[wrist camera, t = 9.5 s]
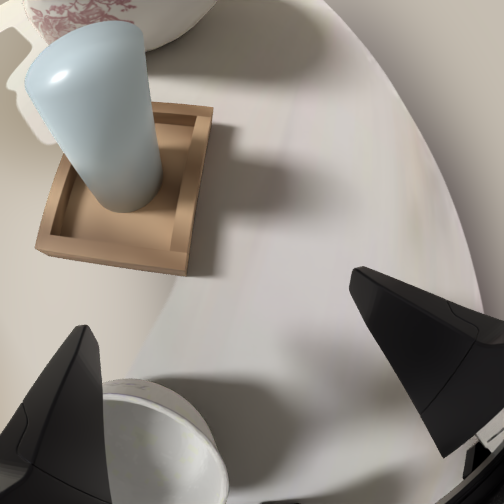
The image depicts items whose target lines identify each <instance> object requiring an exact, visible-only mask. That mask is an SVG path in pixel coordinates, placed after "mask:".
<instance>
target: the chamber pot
mask: <svg viewBox="0 0 504 504" xmlns="http://www.w3.org/2000/svg"><path fill="white" fill-rule="evenodd" d="M216 2H217V0H23V6H24V9H25V12H26V15H27V18H28V20H29V21H30V22H31V24H32V25H33V27H34V28H35V29H36V31H37V32H38V34H39V35H40V36H41V37H42V38H43V39H44V40H45V41H46V42H47V43H48V44H49V45H50V44H52V43H53V42H54V41H56V40H57V39H59V38H60V37H62V36H64V35H65V34H67V33H69V32H71V31H73V30H76V29H78V28H80V27H83V26H86V25H89V24H93V23H97V22H103V21H125V22H129V23H132V24H134V25H136V26H137V27H139V28H140V30H141V31H142V33H143V37H144V47H145V52H147V51H150V50H154V49H157V48H159V47H161V46H163V45H165V44H167V43H170V42H172V41H174V40H176V39H177V38H179V37H180V36H182V35H183V34H184V33H186V32H187V31H188V30H190V29H191V28H193V27H194V26H195V25H196V24H197V23H198V22H199V21H200V20H201V19H202V18H203V16H204V15H205V14H206V13H207V12H208V11H209V10H210V9H211V8H212V7H213V6H214V5H215V3H216Z"/></svg>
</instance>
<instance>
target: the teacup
mask: <svg viewBox="0 0 504 504" xmlns="http://www.w3.org/2000/svg"><path fill="white" fill-rule="evenodd" d="M102 387H103V418H104V437H105V450H106V461H107V470H108V478H109V485H110V492H111V498H112V504H226V501H227V497H228V493H229V477H228V472H227V468H226V465H225V463H224V461H223V459H222V457H221V455H220V453H219V451H218V449H217V446H216V443H215V441H214V438H213V436H212V433H211V431H210V429H209V427H208V425H207V424H206V422H205V420H204V419H203V417H202V416H201V415H200V413H199V412H198V411H197V410H196V409H195V408H194V407H193V406H192V405H191V404H190V403H189V402H188V401H187V400H186V399H184V398H183V397H182V396H180V395H179V394H177V393H176V392H174V391H172V390H171V389H169V388H166V387H164V386H162V385H159V384H156V383H153V382H150V381H145V380H139V379H118V380H113V381H108V382H105V383H102Z"/></svg>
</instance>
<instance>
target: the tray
mask: <svg viewBox="0 0 504 504" xmlns="http://www.w3.org/2000/svg"><path fill="white" fill-rule="evenodd" d="M151 104H152V111H153V117H154V123H155V130H156V136H157V141H158V147H159V153H160V158H161V164H162V169H163V181H162V185H161V187H160V190H159V191H158V193H157V195H156V196H155V197H154V198H153V199H152V201H150V202H149V203H148V204H147V205H145V206H144V207H142V208H140V209H138V210H136V211H132V212H128V213H117V212H112V211H110V210H107V209H106V208H104V207H103V206H102V205H101V204H100V203H99V202H98V200H97V199H96V198H95V196H94V195H93V194H92V192H91V191H90V190H89V188H88V187H87V185H86V184H85V183H84V181H83V180H82V178H81V177H80V176H79V174H78V173H77V171H76V170H75V168H74V167H73V165H72V164H71V162H70V161H69V160H68V158H67V157H66V155H65V154H63V156H62V159H61V161H60V164H59V167H58V169H57V172H56V175H55V178H54V181H53V183H52V187H51V190H50V193H49V196H48V200H47V203H46V206H45V209H44V213H43V216H42V220H41V224H40V228H39V232H38V236H37V240H36V244H35V249H37V250H39V251H40V252H42V253H44V254H46V255H48V256H51V257H57V258H63V259H69V260H75V261H81V262H88V263H95V264H101V265H108V266H114V267H120V268H128V269H134V270H141V271H148V272H156V273H163V274H171V275H178V276H186V275H187V267H188V259H189V252H190V245H191V238H192V231H193V225H194V218H195V212H196V206H197V199H198V194H199V188H200V182H201V176H202V171H203V166H204V160H205V155H206V150H207V145H208V140H209V135H210V130H211V125H212V116H213V107H206V106H197V105H187V104H176V103H162V102H151Z"/></svg>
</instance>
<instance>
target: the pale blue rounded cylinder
mask: <svg viewBox="0 0 504 504" xmlns="http://www.w3.org/2000/svg"><path fill="white" fill-rule="evenodd" d="M25 89H26V91H27V93H28V95H29V97H30V98H31V100H32V102H33V104H34V105H35V107H36V109H37V111H38V112H39V114H40V116H41V117H42V119H43V121H44V122H45V124H46V125H47V127H48V129H49V130H50V132H51V133H52V135H53V137H54V138H55V140H56V141H57V143H58V144H59V146H60V147H61V149H62V150H63V152H64V154H65V155H66V157H67V158H68V160H69V161H70V162H71V164H72V165H73V167H74V168H75V170H76V171H77V173H78V174H79V176H80V177H81V178H82V180H83V181H84V183H85V184H86V185H87V187H88V188H89V190H90V191H91V192H92V194H93V195H94V196H95V198H96V199H97V200H98V202H99V203H100V204H101V205H102V206H103V207H104V208H106V209H107V210H110V211H112V212H117V213H128V212H132V211H136V210H138V209H140V208H142V207H144V206H145V205H147V204H148V203H149V202H150V201H152V199H153V198H154V197H155V196H156V195H157V193H158V191H159V190H160V187H161V185H162V181H163V169H162V164H161V158H160V153H159V147H158V141H157V136H156V130H155V123H154V117H153V111H152V104H151V97H150V90H149V82H148V74H147V66H146V57H145V47H144V37H143V33H142V31H141V30H140V28H139V27H137V26H136V25H134V24H132V23H129V22H125V21H103V22H97V23H93V24H89V25H86V26H83V27H80V28H78V29H76V30H73V31H71V32H69V33H67V34H65V35H64V36H62V37H60V38H59V39H57V40H56V41H54V42H53V43H52V44H50V45H49V46H48V47H47V48H46V49H44V50H43V51H42V52H41V53H40V54H39V56H38V57H37V58H36V59H35V60H34V62H33V63H32V64H31V66H30V68H29V70H28V72H27V74H26V77H25Z"/></svg>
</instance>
